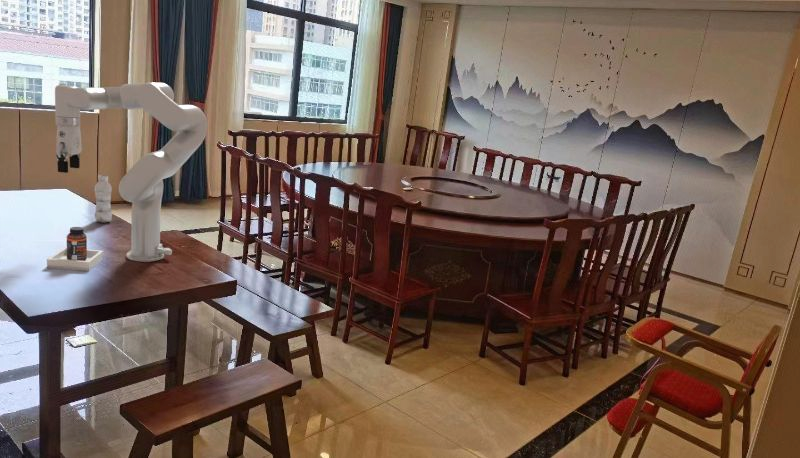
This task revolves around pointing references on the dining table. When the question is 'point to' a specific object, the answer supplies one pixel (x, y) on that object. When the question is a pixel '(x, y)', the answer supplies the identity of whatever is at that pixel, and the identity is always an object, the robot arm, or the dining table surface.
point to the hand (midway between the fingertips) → (69, 170)
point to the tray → (61, 260)
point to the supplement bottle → (76, 244)
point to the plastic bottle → (103, 199)
